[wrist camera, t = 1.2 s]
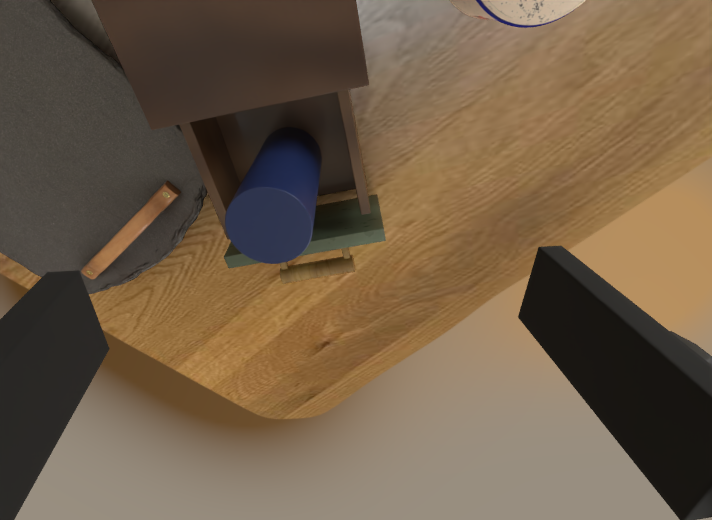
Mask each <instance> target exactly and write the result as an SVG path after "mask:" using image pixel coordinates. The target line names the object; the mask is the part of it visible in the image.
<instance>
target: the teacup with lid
mask: <svg viewBox="0 0 712 520" xmlns="http://www.w3.org/2000/svg"><path fill="white" fill-rule="evenodd" d="M584 1H586V0H450V2H451V3H452V4H453V5H454V6H455V7H456V8H457V9H458V10H460V11H461V12H463V13H464V14H466V15H468V16H471V17H474V18H479V19H487V20H497V21H499V22H501V23H504V24H507V25H510V26H514V27H524V28H527V27H537V26H542V25H545V24H549V23H551V22H554V21H556V20H558V19H560V18H562V17H564V16H566V15H567V14H569V13H570V12H572V11H573V10H575V9H576V8H577V7H578V6H580V5H581V4H582V3H583V2H584Z"/></svg>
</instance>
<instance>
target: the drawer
mask: <svg viewBox="0 0 712 520" xmlns="http://www.w3.org/2000/svg"><path fill="white" fill-rule="evenodd" d="M179 125H180V128H181V130H182V132H183V135H184V137H185V140H186V142H187V144H188V147H189V149H190V151H191V154H192V156H193V158H194V161H195V163H196V166H197V168H198V170H199V173H200V175H201V177H202V180H203V182H204V185H205V187H206V189H207V192H208V194H209V196H210V199H211V201H212V203H213V206H214V208H215V211H216V213H217V215H218V218H219V220H220V222H221V225H222V227H223V229H224V232H225V234H226V237H227V239H229V237H228V234H227V231H226V227H225V215H226V211H227V208H228V206H229V204H230V203H231V201H232V199H233V197H234V195H235V194H236V192H237V190H238V188H239V187H240V185H241V183H242V181H243V179H244V178H245V176H246V174H247V172H248V170H249V169H250V167H251V165H252V163H253V162H254V160H255V158H256V156H257V154H258V153H259V151H260V149H261V147H262V146H263V144H264V142H265V140H266V139H267V137H268V136H269V135H270V134H271V133H273V132H274V131H276V130H278V129H281V128H286V127H293V128H298V129H301V130H303V131H305V132H307V133H308V134H310V135H311V136H312V137H313V138H314V139H315V141H316V142H317V144H318V145H319V148H320V151H321V155H322V162H321V170H320V178H319V186H318V194H317V196H320V195H325V194H331V193H336V192H341V191H347V190H352V189H356V192H357V197H358V198H355V199H350V200H344V201H339V202H334V203H328V204H323V205H317V206H316V210H315V218H314V226H313V234H312V238H311V241H310V243H309V245H308V247H307V248H306V249H305V251H304V252H303V253H302V254H300V255H299V256H302V255H307V254H313V253H319V252H324V251H330V250H336V249H342V253H343V257H338V258H332V259H326V260H320V261H315V262H309V263H303V264H298V265H292V266H288V263H287V262H284V263H280V266H281V268H280V277H281V280H282V282H283V283H284V284H285V283H291V282H297V281H303V280H309V279H315V278H320V277H326V276H332V275H338V274H344V273H349V272H355V263H354V258H353V255H350V253H349V248H348V247H352V246H358V245H364V244H369V243H375V242H381V241H386V239H385V233H384V227H383V222H382V217H381V212H380V206H379V201H378V196H377V195H371V196H368V189H367V182H366V177H365V171H364V166H363V160H362V155H361V149H360V144H359V139H358V133H357V128H356V122H355V117H354V111H353V106H352V100H351V95H350V89H348V90H343V91H338V92H334V93H329V94H324V95H319V96H314V97H309V98H305V99H300V100H295V101H290V102H285V103H280V104H276V105H271V106H266V107H261V108H256V109H251V110H247V111H242V112H237V113H232V114H227V115H223V116H218V117H213V118H208V119H203V120H198V121H194V122H189V123H184V124H179ZM224 259H225V261H226V263H227V265H228V268H234V267H239V266H245V265H251V264H256V263H262V262H258V261H255V260H253V259H251V258H249V257H247V256H245V255H244V254H242V253H241V252H240V251H239V250H238V249H237V248H236V247H235V246H234V245H233V243H232V242H231V243H230V245H229V247H228V249H227V251H226V253H225V256H224Z"/></svg>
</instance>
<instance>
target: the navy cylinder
mask: <svg viewBox="0 0 712 520" xmlns="http://www.w3.org/2000/svg"><path fill="white" fill-rule="evenodd" d="M321 162H322V155H321V151H320V148H319V145H318V144H317V142H316V141H315V139H314V138H313V137H312V136H311V135H310V134H308V133H307V132H305V131H303V130H301V129H298V128H293V127H286V128H281V129H278V130H276V131H274V132H273V133H271V134H270V135H269V136H268V137H267V139H266V140H265V142H264V144H263V146H262V147H261V149H260V151H259V153H258V154H257V156H256V158H255V160H254V162H253V163H252V165H251V167H250V169H249V170H248V172H247V174H246V176H245V178H244V179H243V181H242V183H241V185H240V187H239V188H238V190H237V192H236V194H235V195H234V197H233V199H232V201H231V203H230V204H229V206H228V208H227V211H226V215H225V227H226V231H227V234H228V237H229V239H230V240H231V242H232V243H233V245H234V246H235V247H236V248H237V249H238V250H239V251H240V252H241V253H242V254H244V255H245V256H247V257H249V258H251V259H253V260H255V261H258V262H262V263H269V264H278V263H284V262H287V261H290V260H292V259H294V258H296V257H298V256H299V255H300V254H302V253H303V252H304V251H305V249H306V248H307V247H308V245H309V243H310V241H311V238H312V234H313V226H314V218H315V210H316V202H317V194H318V186H319V178H320V170H321Z"/></svg>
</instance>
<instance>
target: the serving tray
mask: <svg viewBox="0 0 712 520" xmlns="http://www.w3.org/2000/svg"><path fill="white" fill-rule="evenodd" d="M206 194H207V189H206V187H205V185H204V182H203V180H202V177H201V175H200V173H199V170H198V168H197V166H196V163H195V161H194V158H193V156H192V154H191V151H190V149H189V147H188V144H187V142H186V140H185V137H184V135H183V132H182V130H181V128H180V125H174V126H169V127H165V128H160V129H155V130H151V128H150V126H149V123H148V121H147V119H146V117H145V115H144V113H143V110H142V108H141V106H140V104H139V102H138V100H137V97H136V95H135V93H134V91H133V89H132V87H131V85H130V82H129V80H128V78H127V76H126V74H125V72H124V69H123V68H122V66H121V65H119V64H118V63H117V62H116V61H115V60H113V59H112V58H111V57H109V56H108V55H107V54H105V53H104V52H103V51H101V50H100V49H99V48H98V47H96V46H95V45H94V44H93V43H92V42H91V41H89V40H88V39H87V38H86V37H84V36H83V35H82V34H80V33H79V32H78V31H77V30H76V29H75V28H74V27H73V26H72V25H71V24H70V23H69V21H68V20H67V19H66V18H65V17H64V16H63V15H62V14H61V13H60V11H59V10H58V9H57V8H56V7H55V6H54V4H53V3H52V2H51V1H50V0H0V252H1V253H2V254H4V255H6V256H8V257H9V258H11V259H12V260H14V261H16V262H18V263H19V264H21V265H23V266H24V267H26V268H27V269H28V270H30V271H31V272H33V273H34V274H36V275H38V276H40V277H43V276H44V275H45V274H46V273H47V272H57V271H77V270H79V271H80V273H81V276H82V279H83V281H84V284H85V287H86V289H87V292H88V294H93V293H96V292H99V291H104V290H107V289H109V288H110V287H113V286H117V285H121V284H124V283H126V282H128V281H131V280H133V279H135V278H137V277H138V275H139V274H140V273H142V272H144V271H146V270H148V269H150V268H151V267H153V266H155V265H156V264H158V263H159V262H160V261H162V260H163V259H165V258H166V257H167V256H168V255H169V254H170V253H171V252H172V251H173V250H174V248H175V247H176V246H177V245H178V244H179V243H180V242H181V241H182V240H183V238H184V235H185V233H186V231H187V229H188V228H189V227H190V226H191V224H192V223H193V222H194V221H195V220H196V219H197V217H198V215H199V212H200V210H201V208H202V206H203V200H204V198H205V196H206Z"/></svg>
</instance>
